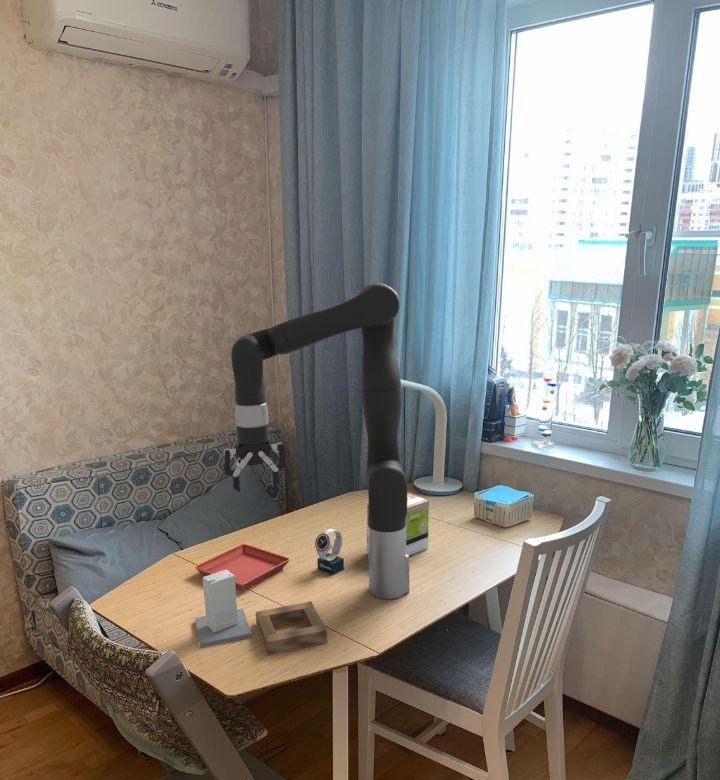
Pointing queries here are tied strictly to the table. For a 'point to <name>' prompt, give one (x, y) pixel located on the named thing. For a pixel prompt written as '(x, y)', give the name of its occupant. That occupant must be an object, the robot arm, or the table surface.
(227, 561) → the plant saucer
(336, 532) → the watch
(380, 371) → the robot arm
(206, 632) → the slate mat
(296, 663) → the table surface
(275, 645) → the walnut collar
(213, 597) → the skincare box
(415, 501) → the tea box
